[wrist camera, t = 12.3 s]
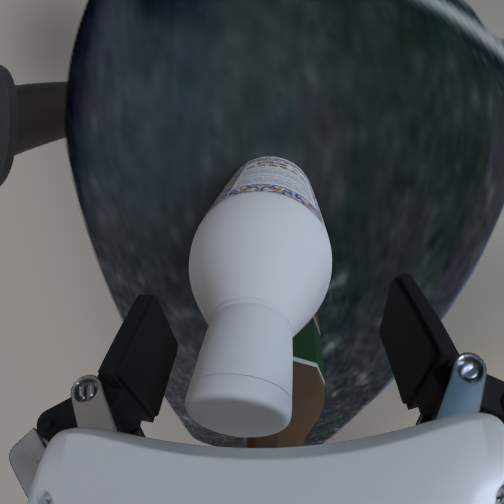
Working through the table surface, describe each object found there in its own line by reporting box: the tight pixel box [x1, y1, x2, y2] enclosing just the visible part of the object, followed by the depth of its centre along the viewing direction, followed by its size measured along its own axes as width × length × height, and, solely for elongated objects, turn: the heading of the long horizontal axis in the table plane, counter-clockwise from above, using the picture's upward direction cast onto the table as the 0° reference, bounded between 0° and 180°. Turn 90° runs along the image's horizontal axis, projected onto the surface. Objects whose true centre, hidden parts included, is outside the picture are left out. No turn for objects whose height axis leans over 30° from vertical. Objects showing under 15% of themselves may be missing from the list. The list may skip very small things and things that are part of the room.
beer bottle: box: [247, 312, 325, 448], centre depth 20 cm, size 8×8×24 cm
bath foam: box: [185, 157, 332, 437], centre depth 15 cm, size 7×7×20 cm
